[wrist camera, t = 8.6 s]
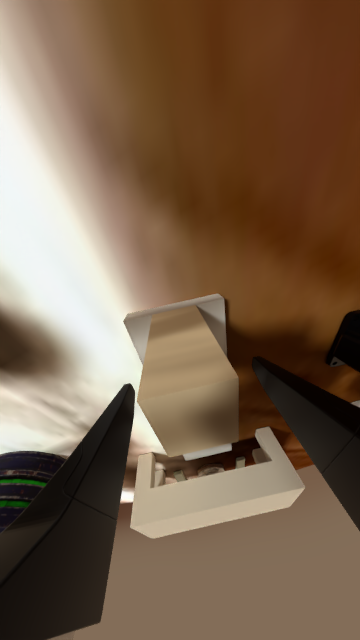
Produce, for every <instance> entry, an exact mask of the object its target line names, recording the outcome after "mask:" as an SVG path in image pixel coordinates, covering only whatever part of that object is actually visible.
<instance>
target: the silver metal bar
mask: <svg viewBox="0 0 360 640" xmlns="http://www.w3.org/2000/svg"><path fill="white" fill-rule="evenodd" d="M123 322H124V324H125V326H126V329H127V331H128V333H129V335H130V337H131V340H132V342H133V344H134V346H135V349H136V351H137V353H138V355H139V358H140V360H141V362H142V364H143V370H142V375H141V381H140V386H139V392H138V398H137V402H138V404H139V406H140V408H141V409H142V411H143V413H144V415H145V416H146V418H147V420H148V422H149V423H150V425H151V427H152V429H153V430H154V432H155V434H156V436H157V437H158V439H159V441H160V443H161V444H162V446H163V448H164V450H165V451H166V453H167V455H168V457H169V458H170V457H174V456H179V455H183V456H184V458H185V461H188V460H193V459H197V458H201V457H205V456H210V455H214V454H218V453H223V452H227V451H231V450H232V446H231V443H234V442H238V423H239V378H238V376H237V374H236V372H235V371H234V369H233V367H232V366H231V364H230V362H229V361H228V359H227V345H226V324H225V304H224V298H223V297H222V296H220V295H219V294H213V295H209V296H204V297H200V298H196V299H191V300H187V301H182V302H178V303H173V304H169V305H165V306H160V307H156V308H151V309H147V310H143V311H138V312H134V313H129V314H127V316H126V318H125V319H124V321H123Z"/></svg>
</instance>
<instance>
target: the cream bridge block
mask: <svg viewBox="0 0 360 640" xmlns="http://www.w3.org/2000/svg"><path fill="white" fill-rule="evenodd" d="M255 437H256V439H257V441H258V443H259V445H260V447H261V448H258V449H253V452H252V455H253V458H254V460H255V462H256V465H252V466H248V467H243V468H239V469H234V470H230V471H226V472H221V473H217V474H212V475H208V476H203V477H199V478H194V479H190V480H186V481H181V482H177V483H172V484H168V485H166V475H165V472H164V471H163V470H159V471H155V459H156V458H155V456H154V455H153V453H147V454H143V455H139V459H138V467H137V476H136V484H135V492H134V501H133V509H132V517H131V525H130V527H131V528H132V529H134V530H136V531H138V532H140V533H142V534H144V535H146V536H148V537H150V538H152V539H153V538H157V537H161V536H166V535H170V534H175V533H179V532H183V531H187V530H191V529H196V528H201V527H205V526H209V525H213V524H218V523H222V522H226V521H230V520H235V519H239V518H244V517H248V516H252V515H257V514H261V513H265V512H270V511H274V510H278V509H282V508H287V507H290V506H291V505H292V504H293V502H294V501H295V500H296V498H297V497H298V496H299V495H300V494H301V492H302V491H303V490H304V488H305V486H304V484H303V482H302V481H301V479H300V478H299V476H298V474H297V472H296V471H295V469H294V467H293V466H292V464H291V462H290V461H289V459H288V457H287V456H286V454H285V452H284V451H283V449H282V447H281V446H280V444H279V442H278V441H277V439H276V437H275V436H274V434H273V432H272V431H271V429H270V427H265V428H260V429H256V433H255Z"/></svg>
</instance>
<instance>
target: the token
mask: <svg viewBox="0 0 360 640" xmlns="http://www.w3.org/2000/svg"><path fill="white" fill-rule="evenodd" d="M221 472H225V471H224V468H223V465H222V464H220V463H211V464H207V465H204V466H202V467H200V468H199V469H198V470H197V474H198V478H199V477H203V476H208V475H212V474H217V473H221Z"/></svg>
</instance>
